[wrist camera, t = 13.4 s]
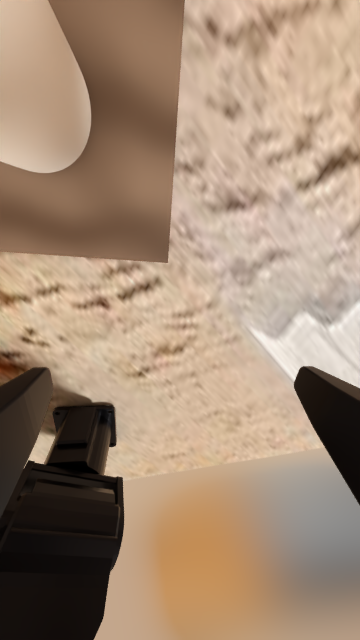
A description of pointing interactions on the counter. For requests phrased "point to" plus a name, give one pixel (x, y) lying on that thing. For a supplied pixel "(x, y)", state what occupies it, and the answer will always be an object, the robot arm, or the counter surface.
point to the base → (108, 140)
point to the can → (39, 90)
